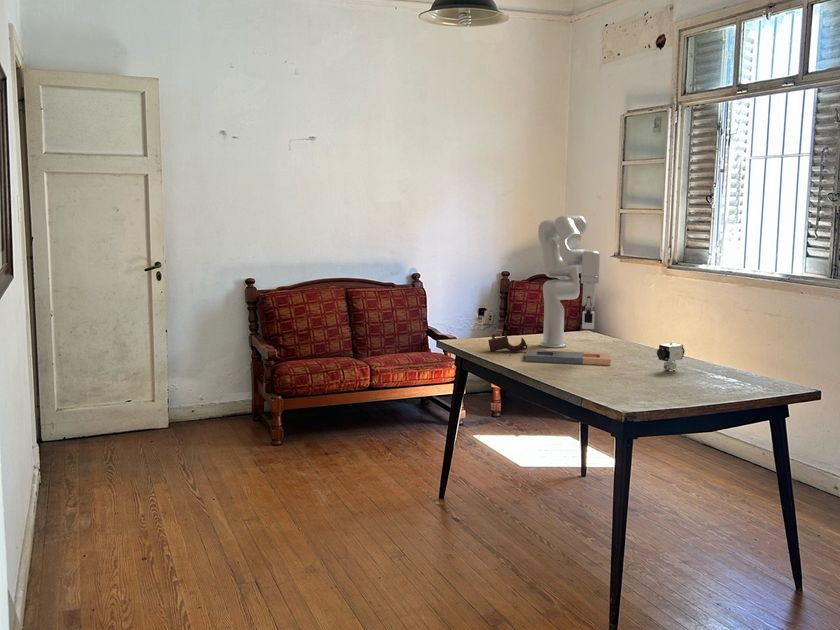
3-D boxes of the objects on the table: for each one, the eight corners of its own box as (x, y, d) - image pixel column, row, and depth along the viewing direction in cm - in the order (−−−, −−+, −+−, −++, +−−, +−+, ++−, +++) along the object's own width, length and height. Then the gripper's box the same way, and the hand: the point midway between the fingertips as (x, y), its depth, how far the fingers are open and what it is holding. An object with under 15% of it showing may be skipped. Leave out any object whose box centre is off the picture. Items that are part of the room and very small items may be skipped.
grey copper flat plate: (527, 355, 363) (527, 349, 363) (609, 359, 356) (610, 353, 355) (525, 361, 349) (525, 355, 349) (610, 365, 342) (610, 359, 342)
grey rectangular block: (582, 327, 352) (582, 311, 351) (594, 327, 350) (594, 311, 349) (581, 328, 347) (582, 312, 346) (593, 329, 346) (594, 313, 345)
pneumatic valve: (655, 371, 332) (656, 342, 330) (674, 368, 338) (676, 340, 336) (665, 373, 327) (667, 344, 325) (685, 370, 333) (687, 342, 331)
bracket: (528, 347, 366) (523, 326, 368) (491, 354, 367) (486, 333, 370) (527, 350, 372) (523, 329, 374) (491, 357, 373) (487, 336, 375)
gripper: (581, 277, 355) (580, 318, 357) (580, 281, 338) (578, 324, 341) (599, 278, 353) (597, 319, 356) (598, 281, 337) (596, 325, 339)
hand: (588, 321), depth 348 cm, fingers closed on grey rectangular block, 5 cm apart
